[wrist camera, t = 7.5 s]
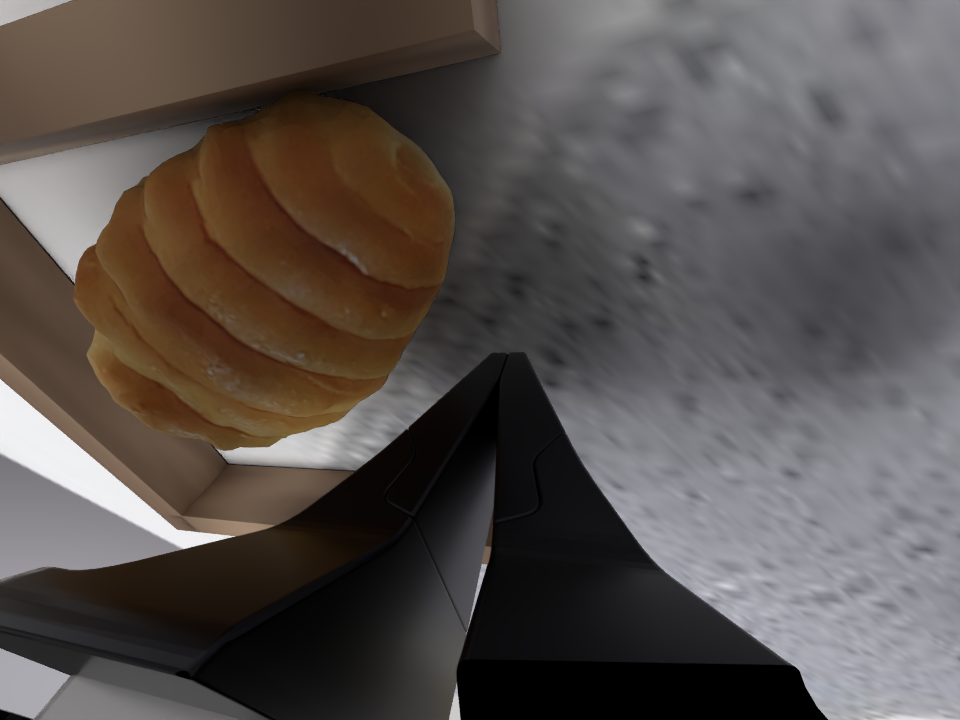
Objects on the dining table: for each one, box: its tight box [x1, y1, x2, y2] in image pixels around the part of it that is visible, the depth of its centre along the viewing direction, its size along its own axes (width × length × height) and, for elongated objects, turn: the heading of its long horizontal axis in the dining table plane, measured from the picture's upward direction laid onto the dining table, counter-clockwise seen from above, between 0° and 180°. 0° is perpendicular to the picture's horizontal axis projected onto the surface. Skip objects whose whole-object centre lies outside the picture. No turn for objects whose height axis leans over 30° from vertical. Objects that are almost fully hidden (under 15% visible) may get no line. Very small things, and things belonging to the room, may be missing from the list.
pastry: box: [73, 90, 455, 451], centre depth 8 cm, size 9×7×4 cm
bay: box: [0, 0, 501, 564], centre depth 10 cm, size 15×14×2 cm
